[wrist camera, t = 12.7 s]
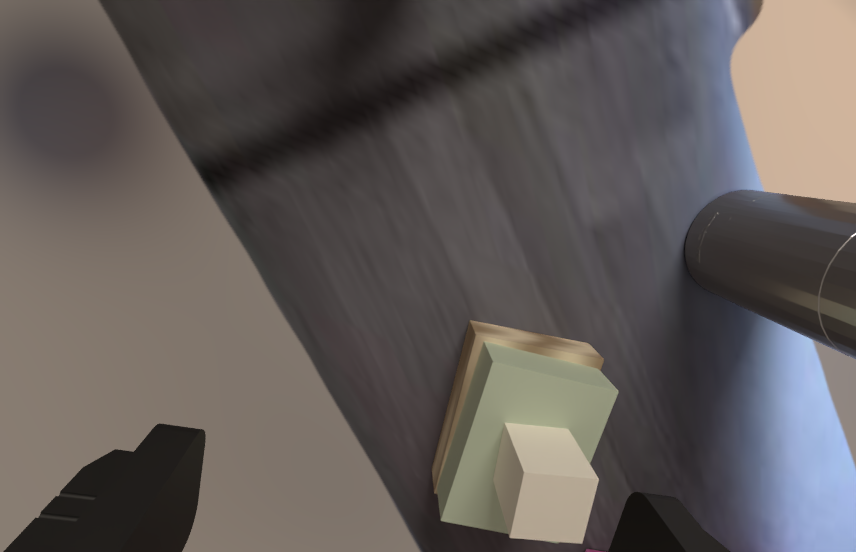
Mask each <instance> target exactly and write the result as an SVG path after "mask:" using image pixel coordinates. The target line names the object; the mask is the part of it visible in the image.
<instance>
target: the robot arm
mask: <svg viewBox="0 0 856 552" xmlns="http://www.w3.org/2000/svg"><path fill="white" fill-rule="evenodd" d="M685 258H686V264H687V267H688V269H689V272H690V274H691V276H692V277H693V278H694V280H695V281H696V282H697V283H698V284H699V285H700V286H702V287H703V288H704V289H706V290H708V291H710V292H712V293H714V294H716V295H719V296H721V297H723V298H725V299H727V300H729V301H731V302H733V303H735V304H737V305H739V306H741V307H743V308H746V309H748V310H750V311H752V312H754V313H756V314H759V315H761V316H763V317H765V318H767V319H769V320H772V321H774V322H776V323H778V324H780V325H782V326H784V327H787V328H789V329H791V330H793V331H795V332H797V333H800V334H802V335H804V336H806V337H808V338H810V339H813V340H815V341H817V342H819V343H822V344H823V345H826V346H828V347H830V348H832V349H834V350H837V351H839V352H841V353H843V354H845V355H847V356H850V357H852V358H854V359H856V203H849V202H841V201H833V200H825V199H817V198H809V197H801V196H793V195H787V194H779V193H770V192H762V191H754V190H739V191H734V192H730V193H727V194H725V195H722V196H720V197H718V198H717V199H715V200H714V201H712V202H711V203H709V204H708V205H707V206H706V207H705V208H704V209H703V210H702V211H701V212H700V213H699V214H698V216H697V217H696V219H695V220H694V221H693V223H692V226H691V228H690V230H689V232H688V235H687V239H686V243H685ZM204 448H205V431H204V430H202V429H195V428H188V427H180V426H173V425H166V424H157V425H156V426H155V427H154V428H153V429H152V430H151V432H150V433H149V434H148V435H147V437H146V438H145V439H144V440H143V441H142V443H141V444H140V445H139V446H138V447H137V449H136V450H135V451H134V452H130V451H123V450H113V451H112V452H110V453H108V454H106V455H104V456H103V457H101V458H99V459H97V460H95V461H94V462H92V463H90V464H88V465H87V466H85V467H83V468H82V469H81V470H80V471H79V472H78V473H77V475H76V476H75V477H74V478H73V479H72V480H71V481H70V482H69V483H68V484H67V485H66V486H65V487H64V488H63V489H62V490H61V492H60V495H59V496H56V497H55V498H54V499H53V500H52V501H51V502H50V503H49V504H48V505H47V506H46V507H45V508H44V509H43V510H42V511H41V514H40V516H39V518H35V519H34V520H33V521H32V522H31V523H30V524H29V525H28V526H27V527H26V529H24V530H23V532H22V533H21V534H20V535H19V536H18V537H17V538H16V539H15V540H14V541H13V542H12V543H11V544H10V545H9V546H8V547H7V549H6V550H5V551H4V552H182V550H183V548H184V546H185V544H186V542H187V540H188V537H189V535H190V532H191V529H192V526H193V522H194V519H195V515H196V510H197V505H198V497H199V488H200V481H201V473H202V464H203V456H204ZM609 552H730V551H729V550H728V549H726V548H725V547H724V546H723V545H721V544H720V543H719V542H718V541H717V540H715V539H714V538H713V537H712V536H710V535H709V534H708V533H707V532H705V531H704V530H703V529H702V528H701V526H700V525H699V524H698V523H697V522H696V520H695V519H694V518H693V517H692V515H691V514H690V513H689V512H688V511H687V509H686V508H685V507H684V506H683V504H682V503H681V502H680V501H679V500H678V499H676V498H674V497H669V496H662V495H655V494H648V493H641V492H634V493H632V494H631V495H630V496H629V498H628V499H627V501H626V504H625V507H624V510H623V512H622V515H621V518H620V521H619V524H618V527H617V529H616V532H615V535H614V538H613V541H612V543H611V546H610V549H609Z"/></svg>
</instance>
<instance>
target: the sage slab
mask: <svg viewBox="0 0 856 552" xmlns="http://www.w3.org/2000/svg"><path fill="white" fill-rule="evenodd" d="M618 392H619V391H618V390H617V389H616V388H615V387H614V386H613V385H612V383H611V382H610V381H609V380H608V379H607V378H606V377H605V376H604V375H603V374H602V372H601V371H600V370H599V369H597V368H593V367H589V366H585V365H581V364H576V363H572V362H568V361H564V360H560V359H556V358H552V357H547V356H543V355H539V354H535V353H531V352H527V351H523V350H518V349H514V348H510V347H506V346H502V345H498V344H494V343H489V342H485V341H484V342H483V345H482V348H481V352H480V355H479V358H478V361H477V364H476V367H475V370H474V373H473V377H472V380H471V383H470V386H469V389H468V392H467V395H466V398H465V401H464V405H463V408H462V411H461V414H460V417H459V420H458V423H457V426H456V429H455V433H454V436H453V439H452V442H451V445H450V448H449V451H448V454H447V458H446V461H445V464H444V467H443V470H442V473H441V476H440V479H439V482H438V486H437V493H438V502H439V511H440V519H441V521H444V522H449V523H454V524H460V525H465V526H470V527H475V528H480V529H485V530H491V531H496V532H501V533H506V534H508V530H507V527H506V523H505V520H504V516H503V513H502V509H501V506H500V502H499V499H498V496H497V492H496V489H495V485H494V482H493V477H494V472H495V467H496V462H497V457H498V452H499V448H500V443H501V438H502V433H503V428H504V423H515V424H524V425H534V426H544V427H554V428H564V429H569V431H570V433H571V434H572V436H573V437H574V439H575V441H576V442H577V444H578V446H579V447H580V449H581V451H582V452H583V454H584V455H585V457H586V459H587V460H588V462H589V464H590V463H591V460H592V458H593V455H594V452H595V450H596V447H597V445H598V442H599V440H600V437H601V435H602V432H603V430H604V427H605V425H606V422H607V420H608V417H609V415H610V412H611V410H612V407H613V405H614V402H615V400H616V397H617V395H618ZM542 541H543V540H542ZM548 542H553V543H559V542H555V541H548Z"/></svg>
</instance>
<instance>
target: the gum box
mask: <svg viewBox="0 0 856 552" xmlns="http://www.w3.org/2000/svg"><path fill="white" fill-rule="evenodd" d="M585 552H604V551H597V550H591V549H586V551H585Z"/></svg>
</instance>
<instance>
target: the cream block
mask: <svg viewBox="0 0 856 552" xmlns="http://www.w3.org/2000/svg"><path fill="white" fill-rule="evenodd" d="M598 481H599V478H598V477H597V475H596V473H595V472H594V470H593V469H592V467H591V465H590V464H589V462H588V460H587V459H586V457H585V455H584V454H583V452H582V451H581V449H580V447H579V446H578V444H577V442H576V441H575V439H574V437H573V436H572V434H571V433H570V431H569V429H564V428H554V427H544V426H534V425H524V424H515V423H504V428H503V433H502V438H501V443H500V448H499V452H498V457H497V462H496V467H495V472H494V477H493V482H494V485H495V489H496V492H497V496H498V499H499V502H500V506H501V509H502V513H503V516H504V520H505V523H506V527H507V530H508V534H509V537H510V538H517V539H530V540H543V541H555V542H568V543H580V544H582V542H583V539H584V535H585V531H586V527H587V523H588V519H589V516H590V512H591V508H592V504H593V500H594V497H595V493H596V489H597V485H598Z"/></svg>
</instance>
